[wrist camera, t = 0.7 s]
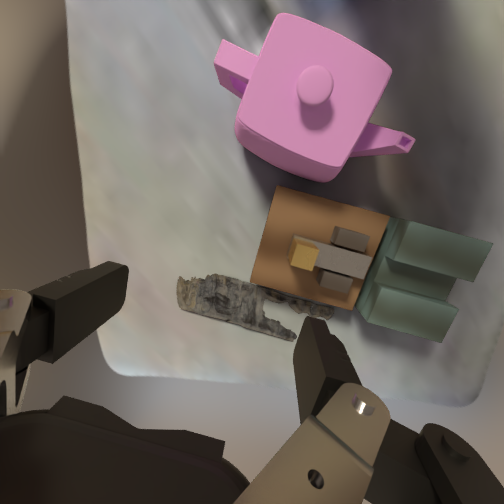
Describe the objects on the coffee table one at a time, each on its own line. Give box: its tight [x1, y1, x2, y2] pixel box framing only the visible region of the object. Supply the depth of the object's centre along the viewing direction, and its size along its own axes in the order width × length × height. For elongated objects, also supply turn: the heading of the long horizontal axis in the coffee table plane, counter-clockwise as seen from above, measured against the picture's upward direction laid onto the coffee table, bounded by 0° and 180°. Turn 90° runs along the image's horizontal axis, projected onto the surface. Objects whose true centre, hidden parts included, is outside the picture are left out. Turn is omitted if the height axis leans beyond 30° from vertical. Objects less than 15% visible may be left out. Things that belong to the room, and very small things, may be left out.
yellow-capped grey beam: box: [286, 233, 372, 279], centre depth 24 cm, size 2×8×5 cm, turn 75°
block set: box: [250, 185, 493, 343], centre depth 27 cm, size 11×21×6 cm, turn 75°
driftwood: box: [177, 274, 334, 342], centre depth 32 cm, size 21×7×2 cm, turn 73°
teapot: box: [214, 13, 416, 183], centre depth 22 cm, size 18×10×10 cm, turn 65°
